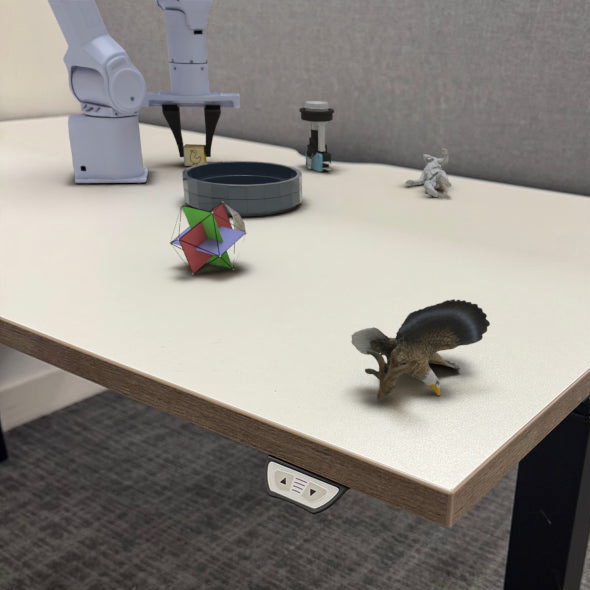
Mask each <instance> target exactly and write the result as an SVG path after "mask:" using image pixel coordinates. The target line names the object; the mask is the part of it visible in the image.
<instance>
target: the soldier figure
mask: <svg viewBox="0 0 590 590" xmlns="http://www.w3.org/2000/svg"><path fill="white" fill-rule="evenodd" d="M441 150H442V151H441V154H443V157H441V158H438V157H435V156H432V155H430V154H428V153H427V154H426V153H424V154H422V157H423V160H424V161H425V162H424V163H425V165H424V166H425V167H424V168H423V170H422V172H421V175H420V177H419V179H407V180H406V181H405V183H404V184H405V185H406V184H407V186H408V187H410V186H421V185H423V187H424V189H425V191H426V193H427V194H428V196H432V197H434V198H438V197H440V194H439V192H438V191H437V190H438V189H439V188H440V187H441V186H443V185H445V186H446V187H447V188H451V187H452V183H451V181H450V180H449V178H448V175H447V173H446V170H443V167H444V166H446V165H447V164H448V163H449V159H450V157H449V156H450V154H449V152H448V149H447V148H445V147H443V148H441Z"/></svg>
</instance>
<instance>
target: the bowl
mask: <svg viewBox="0 0 590 590" xmlns="http://www.w3.org/2000/svg"><path fill="white" fill-rule="evenodd" d="M181 172H182V174H181V175H182V176H181V177H182V186H183V187H182V188H183V199H184V202H185V203H186V205H188V206H189V207H191V208H195V209H200V210H204V211H208V212H209V211H210V210H212V209H213V208H214V209H215V207H216V206H217V205H218V206H219V204H220V203H222V202H223V204H224V203H225V204H226V205H228V206H229V207H230V208H232V209H233V210H235V211H236V212H237V213H239V214H240V216H241V218H242V217H243V218H245V217H247V218H248V217H263V216H264V217H265V216H271V215H272V216H273V215H277V214H282V213H286V212H288V211H291V210H293V209H294V208H295V207H296V206H297V205H300V204H301V202H302V201H303V173H302V172H301V170H300V169H298V168H297V167H294V166H290V165H286V164H283V163H276V162H268V161H257V160H229V161H228V160H225V161H224V160H223V161H214V162H206V163H205V164H199V165H195V166H188V167H187V168H185V169H184V170H182V171H181ZM217 202H220V203H217ZM204 203H208V204H204ZM192 204H195V205H192ZM224 206H225V205H224ZM214 209H213V210H214ZM225 209H226V212H227V215H228V217H233V216H232V215H231V213H230V212H229V210H228V209H227V208H226V206H225ZM213 210H212V211H213ZM212 211H210V212H212Z"/></svg>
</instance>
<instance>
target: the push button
mask: <svg viewBox="0 0 590 590" xmlns="http://www.w3.org/2000/svg"><path fill="white" fill-rule="evenodd" d="M298 112H300V120H302V121H304V122H305V123H306V124H308V132H309V133H308V137H309V138H308V143H309V144H307V145H306V149H305V167H306V168H308V169H309V170H314V171H316V172H319V173H320V172H329V171H332V170H333V169H332V168H330V165H333V163H332V154H331V153H330V152H329V151H328V145H327V144H326V125H327V124H329V122H331V121H332V120H334V119H333V118H334V116H333V114H334V113H335V109H334V108H331V107H330V106H329V102H327V101H322V100H308V101H304V106H303V107H300V108H299V111H298Z"/></svg>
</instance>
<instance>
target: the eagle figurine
mask: <svg viewBox="0 0 590 590" xmlns="http://www.w3.org/2000/svg"><path fill="white" fill-rule="evenodd" d="M478 305H479V304H478V303H472V302H471V301H466V300H465V299H464V300H461V299H457V300H456V299H447V300H444V301H442V302H439V303H436V304H433V305H429V306H426V307H424V308H419V309H418V310H414V311H412V312H409V314H407V316H406V318H405V319H404V321H403V322H402V323H401V325H400V327H398V330H397V331H396V335H395V337H388V336H387V335H386V334H384V333H383V332H382V331H381V329H379V328H378V327H367V328H362V329H359V330H357V331H355V332H354V333H353V334H351V344H352V346H353V347H354V348H355V349H356V350H357V351H358V352H359V353H360V354H363V355H368V356H369V355H370V356H372V357H373V358H374V359H375V361H376V362H377V364H378V370H375V369H374V368H369V367H368V368H365V369H364V372H365V373H366V374H367V375H373V376H374V377H375V378H377V379H378V380H379V383H378V384H379V385H378V386H379V387H378V392H377V394H376V395H377V396H376V400H377V401H379V402H380V401H381V400H383V399H384V398H386V397H387V396H388V394H391V393H392V392H393V389H395V385H396V382H397V380H398V378H399V377H401V375H404V374H407V375H408V376H410V377H412V378H414V379H417V380H419V381H421V382H422V383H424V385H426V386H427V387H429V388H430V389H432V390H433V391H434V392H435V393H436V395H437V396H440V395H442V394H441V388H440V385H441V383H440V382H441V381H440V380H439V378H438V377H437V375H436V374H435V372H434V371H433V369H432V368H431V367H430V366H431V365H430V364H434V365H441V366H445V367H450V368H452V369H455V370H461V367H460V365H458V364H456V362H451V361H449V360H446V359H444V357H442V356H441V355H440V353H438V352H440V351H449V350H453V349H454V350H455V349H456V348H458V347H460V346H470V345H473V344H476V343H478V342H480V341H482V340H483V335H484V334H485V333H487V332H488V327H490V325H491V323H490V321H489V320H488V319H487V317H488V316H487V313H485V312H484V311H483V308H481V307H479V306H478ZM384 356H385V358H386V360H385V358H384Z"/></svg>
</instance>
